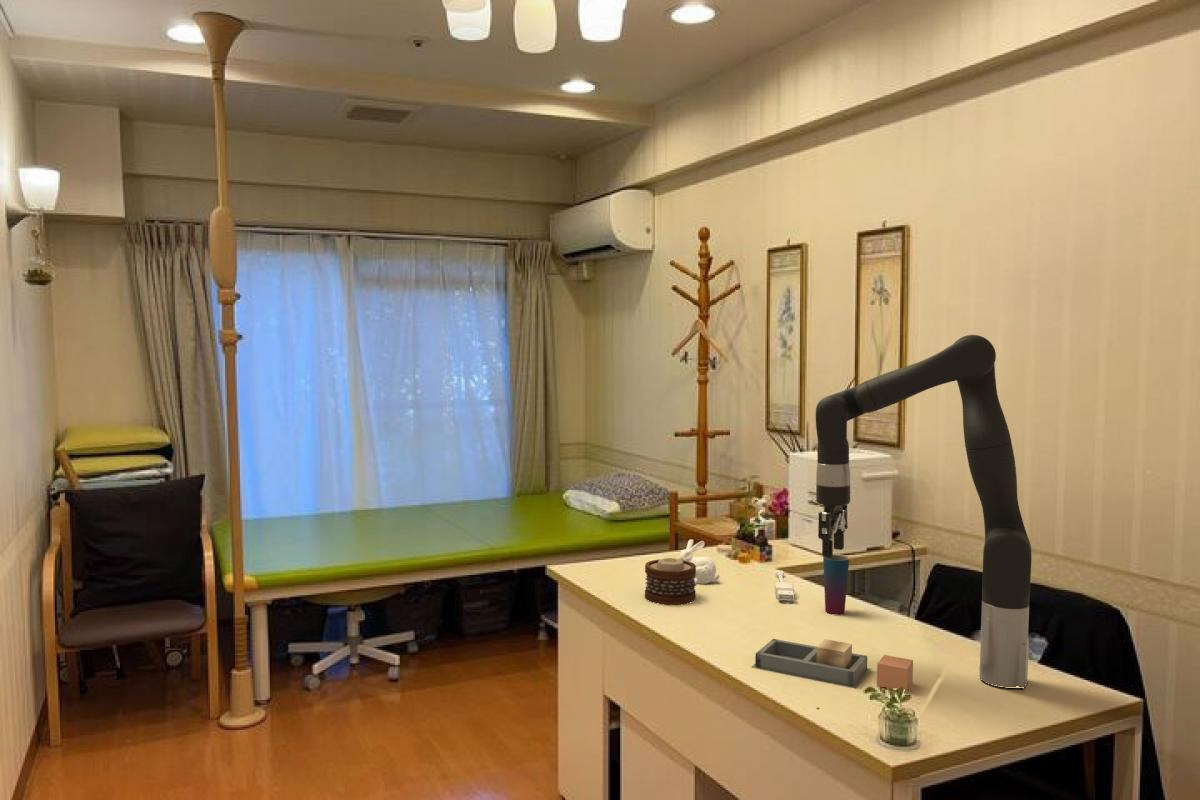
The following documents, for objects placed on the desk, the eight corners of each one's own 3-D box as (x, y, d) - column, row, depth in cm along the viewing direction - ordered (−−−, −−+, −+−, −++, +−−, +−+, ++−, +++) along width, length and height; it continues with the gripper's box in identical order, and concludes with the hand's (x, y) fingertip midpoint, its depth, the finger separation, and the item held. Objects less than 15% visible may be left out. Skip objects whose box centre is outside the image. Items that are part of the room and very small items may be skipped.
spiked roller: (670, 551, 265) (707, 561, 254) (669, 587, 266) (707, 598, 254) (633, 559, 255) (671, 569, 244) (633, 596, 256) (670, 608, 245)
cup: (830, 616, 238) (831, 561, 237) (817, 609, 245) (818, 555, 244) (852, 615, 240) (854, 559, 239) (839, 607, 246) (840, 553, 245)
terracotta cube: (912, 687, 190) (913, 660, 190) (906, 697, 185) (907, 668, 185) (883, 682, 193) (884, 654, 193) (876, 691, 188) (877, 663, 188)
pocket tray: (871, 673, 198) (871, 655, 198) (855, 692, 187) (855, 674, 187) (771, 654, 210) (771, 637, 209) (750, 671, 198) (751, 653, 198)
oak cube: (851, 670, 197) (852, 643, 196) (843, 679, 191) (844, 652, 191) (824, 665, 200) (825, 639, 199) (816, 674, 195) (816, 647, 194)
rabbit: (677, 582, 271) (677, 543, 270) (685, 575, 280) (685, 537, 279) (716, 586, 267) (717, 546, 266) (723, 578, 275) (724, 540, 275)
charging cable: (787, 577, 282) (787, 567, 282) (795, 603, 250) (795, 591, 250) (770, 577, 282) (771, 566, 282) (776, 602, 250) (777, 590, 250)
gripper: (840, 488, 197) (840, 561, 198) (858, 479, 209) (858, 548, 210) (806, 485, 201) (807, 557, 202) (826, 477, 213) (826, 545, 214)
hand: (833, 552), depth 206 cm, fingers open, 8 cm apart
